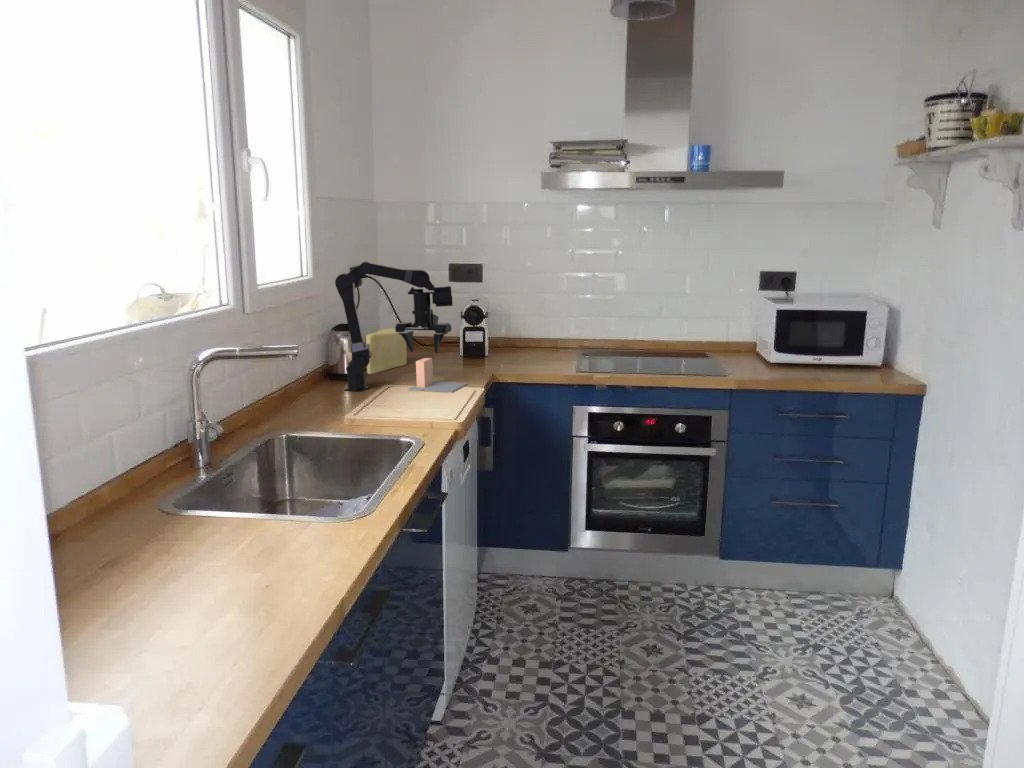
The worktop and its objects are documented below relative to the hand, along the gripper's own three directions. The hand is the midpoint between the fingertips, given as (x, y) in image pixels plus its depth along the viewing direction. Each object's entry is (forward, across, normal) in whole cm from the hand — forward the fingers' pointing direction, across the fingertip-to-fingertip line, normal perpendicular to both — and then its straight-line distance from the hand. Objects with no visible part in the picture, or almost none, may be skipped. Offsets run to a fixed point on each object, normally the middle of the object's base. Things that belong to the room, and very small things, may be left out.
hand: (424, 352), depth 259 cm
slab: (+12, 0, 0) cm, 12 cm away
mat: (+12, -5, 0) cm, 13 cm away
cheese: (+12, +30, -26) cm, 42 cm away
